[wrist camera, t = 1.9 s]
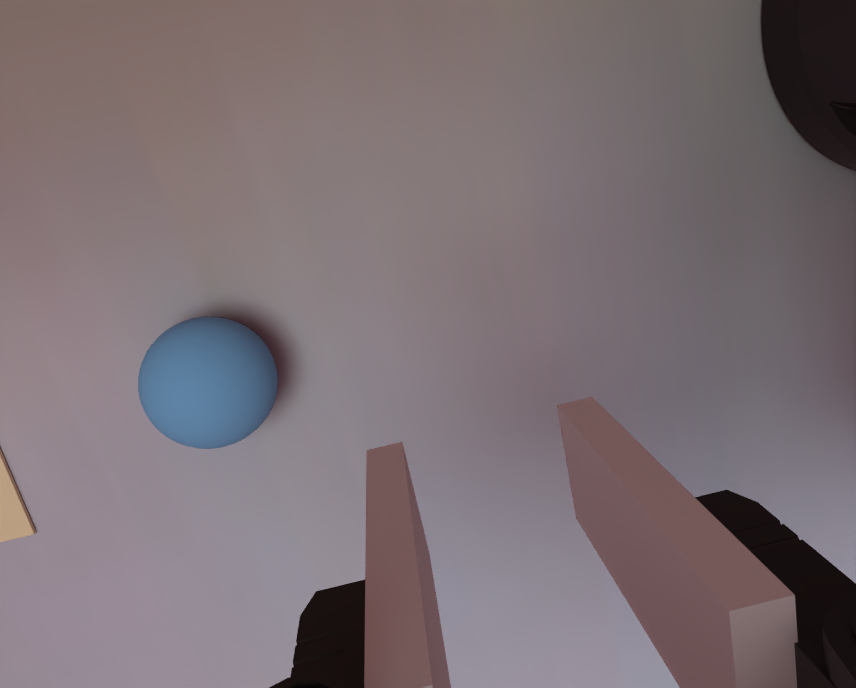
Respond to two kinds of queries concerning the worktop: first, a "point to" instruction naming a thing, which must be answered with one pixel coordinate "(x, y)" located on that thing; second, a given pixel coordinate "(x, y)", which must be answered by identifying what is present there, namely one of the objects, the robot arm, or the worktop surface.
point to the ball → (207, 382)
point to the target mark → (12, 507)
